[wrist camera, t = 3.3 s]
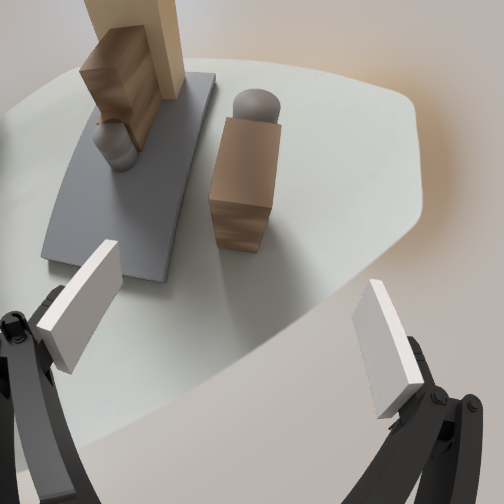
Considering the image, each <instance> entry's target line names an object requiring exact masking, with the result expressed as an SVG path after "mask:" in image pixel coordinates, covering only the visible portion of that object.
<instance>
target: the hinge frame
mask: <svg viewBox="0 0 504 504" xmlns="http://www.w3.org/2000/svg"><path fill="white" fill-rule="evenodd" d="M84 2H85V5H86V8H87V11H88V13H89V16H90V19H91V22H92V24H93V27H94V30H95V33H96V35H97V38H98V40H99V42H100V41H101V39H102V38H103V37H104V36H105V34H106V33H107V32H108V31H109V29H113V28H121V27H129V26H139V25H144V28H145V32H146V36H147V40H148V45H149V49H150V53H151V57H152V61H153V65H154V69H155V73H156V76H157V80H158V84H159V88H160V92H161V95H162V101H161V104H160V106H159V109H158V111H157V114H156V116H155V119H154V121H153V124H152V126H151V129H150V132H149V134H148V137H147V140H146V143H145V145H144V148H143V151H142V152H138V160H137V163H136V164H135V165H134V167H133V168H131V169H130V170H128V171H126V172H122V173H119V172H115V171H114V170H113V169H112V168H111V167H110V165H109V164H108V162H107V161H106V160H105V158H104V157H103V155H102V154H101V152H100V151H99V150H98V148H97V147H96V145H95V144H94V142H93V139H92V136H93V132H94V130H95V129H96V127H97V124H96V122H97V120H98V118H99V116H100V114H101V112H100V110H99V108H98V107H97V105H96V106H95V108H94V110H93V112H92V114H91V116H90V118H89V120H88V122H87V124H86V126H85V128H84V130H83V132H82V135H81V137H80V139H79V141H78V144H77V146H76V148H75V151H74V153H73V155H72V158H71V160H70V163H69V165H68V168H67V171H66V173H65V176H64V179H63V181H62V184H61V187H60V190H59V193H58V196H57V199H56V202H55V205H54V208H53V211H52V215H51V218H50V222H49V225H48V229H47V232H46V236H45V240H44V244H43V248H42V252H41V257H42V258H44V259H46V260H51V261H55V262H60V263H64V264H69V265H74V266H78V267H82V266H83V265H84V263H85V262H86V261H87V260H88V259H89V258H90V256H91V255H92V254H93V253H94V252H95V251H96V250H97V248H98V247H99V246H100V245H101V244H102V243H103V242H104V241H105V239H108V240H114V241H118V245H119V254H120V263H121V271H122V275H123V276H128V277H134V278H139V279H144V280H150V281H156V282H161V283H165V282H166V276H167V271H168V266H169V260H170V255H171V250H172V245H173V240H174V235H175V230H176V226H177V221H178V216H179V212H180V208H181V203H182V199H183V195H184V190H185V186H186V182H187V178H188V174H189V170H190V166H191V162H192V159H193V155H194V151H195V147H196V144H197V140H198V137H199V133H200V130H201V126H202V123H203V119H204V116H205V113H206V109H207V106H208V103H209V99H210V96H211V93H212V90H213V87H214V84H215V81H216V75H215V73H200V72H185V70H184V64H183V57H182V51H181V43H180V36H179V29H178V21H177V14H176V6H175V0H84Z"/></svg>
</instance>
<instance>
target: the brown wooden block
mask: <svg viewBox="0 0 504 504" xmlns="http://www.w3.org/2000/svg"><path fill="white" fill-rule="evenodd" d="M279 113H280V102H279V100H278V99H277V97H276V96H275V95H273V94H272V93H270V92H268V91H266V90H262V89H249V90H245V91H243V92H241V93H239V94H238V95H237V96H236V97H235V99H234V102H233V118H229V117H227V118H226V122H225V126H224V130H223V134H222V139H221V143H220V147H219V151H218V156H217V160H216V165H215V169H214V174H213V179H212V183H211V188H210V193H209V198H208V200H209V206H210V211H211V216H212V221H213V227H214V232H215V237H216V242H217V247H218V248H225V249H232V250H239V251H246V252H253V253H257V251H258V248H259V245H260V242H261V239H262V236H263V233H264V230H265V227H266V224H267V221H268V218H269V215H270V212H271V210H272V204H273V196H274V187H275V179H276V170H277V161H278V153H279V144H280V135H281V126H282V125H279V124H277V121H278V117H279Z"/></svg>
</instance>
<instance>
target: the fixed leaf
mask: <svg viewBox="0 0 504 504" xmlns="http://www.w3.org/2000/svg"><path fill="white" fill-rule="evenodd" d="M79 72H80V74H81V76H82V78H83V80H84V82H85V84H86V86H87V88H88V90H89V92H90V93H91V95H92V97H93V99H94V101H95V103H96V105H97V107H98V108H99V110H100V112H101V114H100V116H99V118H98V120H97V122H96V124H97V127H96V129H95V130H94V132H93V136H92V139H93V142H94V144H95V145H96V147H97V148H98V150H99V151H100V152H101V154H102V155H103V157H104V158H105V160H106V161H107V162H108V164H109V165H110V167H111V168H112V169H113V170H114V171H115V172H119V173H122V172H126V171H128V170H130V169H131V168H133V167H134V165H135V164H136V163H137V160H138V152H142V151H143V148H144V145H145V143H146V140H147V137H148V134H149V132H150V129H151V126H152V124H153V121H154V119H155V116H156V114H157V111H158V109H159V106H160V104H161V101H162V95H161V92H160V88H159V84H158V80H157V76H156V73H155V69H154V65H153V61H152V57H151V53H150V49H149V45H148V40H147V36H146V32H145V28H144V25H139V26H129V27H121V28H113V29H109V31H108V32H107V33H106V34H105V36H104V37H103V38H102V39H101V41H100V42H99V43H98V45H97V46H96V47H95V49H94V50H93V52H92V53H91V54H90V56H89V57H88V59H87V60H86V61H85V63H84V64H83V66H82V67H81V69H80V70H79Z"/></svg>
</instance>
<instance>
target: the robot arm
mask: <svg viewBox="0 0 504 504" xmlns="http://www.w3.org/2000/svg"><path fill="white" fill-rule="evenodd" d="M122 284H123V278H122V271H121V263H120V254H119V245H118V241H114V240H108V239H105V241H104V242H103V243H102V244H101V245H100V246H99V247H98V248H97V250H96V251H95V252H94V253H93V254H92V255H91V256H90V258H89V259H88V260H87V261H86V262H85V263H84V265H83V266H82V267H81V268H80V269H79V271H78V272H77V273H76V274H75V275H74V277H73V278H72V279H71V280H70V282H69V283H68V284H67V285H66V286H62V285H59V286H58V287H56V288H55V289H53V290H52V291H51V292H50V293H49V295H48V296H47V297H46V300H44V301H43V302H42V304H41V305H40V306H39V307H38V309H37V310H36V311H35V313H34V314H33V315H32V317H31V318H30V319H29V321H28V322H27V321H26V318H25V316H24V314H23V313H21V312H19V311H11V312H9V313H7V314H6V315H4V316H3V317H2V319H1V320H0V329H1V331H2V333H0V504H20V501H19V495H18V487H17V479H16V468H15V453H14V412H15V417H16V422H17V427H18V431H19V435H20V439H21V443H22V447H23V451H24V455H25V458H26V461H27V465H28V468H29V471H30V474H31V477H32V480H33V483H34V486H35V488H36V491H37V494H38V496H39V499H40V504H101V502H100V500H99V498H98V496H97V495H96V492H95V491H94V489H93V486H92V484H91V482H90V480H89V478H88V476H87V474H86V472H85V469H84V467H83V465H82V462H81V460H80V458H79V455H78V453H77V450H76V448H75V445H74V442H73V440H72V437H71V434H70V431H69V429H68V426H67V423H66V420H65V417H64V413H63V410H62V407H61V404H60V400H59V397H58V393H57V389H56V386H55V382H54V378H53V373H52V370H51V368H50V366H51V364H52V363H53V362H54V364H55V366H56V367H57V369H58V370H60V371H63V372H66V373H68V374H72V372H73V370H74V368H75V366H76V364H77V362H78V361H79V359H80V357H81V355H82V353H83V351H84V349H85V347H86V346H87V344H88V342H89V340H90V338H91V337H92V335H93V333H94V331H95V330H96V328H97V326H98V324H99V323H100V321H101V319H102V317H103V316H104V314H105V312H106V311H107V309H108V307H109V306H110V304H111V302H112V301H113V299H114V297H115V296H116V294H117V292H118V291H119V289H120V288H121V286H122ZM352 320H353V323H354V327H355V330H356V334H357V338H358V341H359V345H360V349H361V352H362V357H363V361H364V365H365V369H366V373H367V377H368V381H369V385H370V390H371V394H372V399H373V403H374V408H375V412H376V417H377V419H384V418H391V417H393V416H394V415H395V414H396V413H397V412H399V416H400V418H399V419H398V420H397V421H396V422H395V423H394V424H393V425H392V426H390V428H389V430H391V429H392V430H391V432H390V433H389V435H388V437H387V438H386V440H385V442H384V443H383V445H382V447H381V448H380V450H379V451H378V453H377V455H376V456H375V458H374V459H373V461H372V462H371V464H370V465H369V467H368V468H367V469H366V471H365V472H364V474H363V475H362V477H361V478H360V479H359V481H358V482H357V484H356V485H355V486H354V488H353V489H352V490H351V492H350V493H349V494H348V496H347V497H346V498H345V499H344V501H343V502H342V503H341V504H405V502H406V500H407V499H408V497H409V495H410V493H411V491H412V489H413V488H414V485H415V484H416V482H417V480H418V478H419V476H420V474H421V472H422V475H421V479H420V483H419V487H418V490H417V494H416V497H415V501H414V504H475V501H476V496H477V489H478V483H479V475H480V466H481V454H482V436H483V407H482V403H481V401H480V400H479V399H478V397H476V396H475V395H473V394H468V395H466V396H465V397H464V398H463V399H462V400H458V399H453V398H449V397H448V394H447V393H446V392H445V390H444V389H442V388H441V387H439V386H436V385H435V383H434V380H433V378H432V375H431V372H430V370H429V367H428V365H427V362H426V361H425V357H424V355H422V350H421V348H420V345H419V344H418V343H417V341H416V340H415V339H414V338H413V337H410V336H406V335H405V332H404V330H403V327H402V325H401V322H400V320H399V318H398V315H397V313H396V311H395V309H394V306H393V304H392V302H391V300H390V298H389V295H388V293H387V291H386V289H385V287H384V285H383V283H382V281H381V280H374V279H369V280H368V282H367V285H366V287H365V290H364V292H363V294H362V297H361V298H360V301H359V303H358V305H357V307H356V309H355V312H354V314H353V316H352ZM422 470H423V471H422Z"/></svg>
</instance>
